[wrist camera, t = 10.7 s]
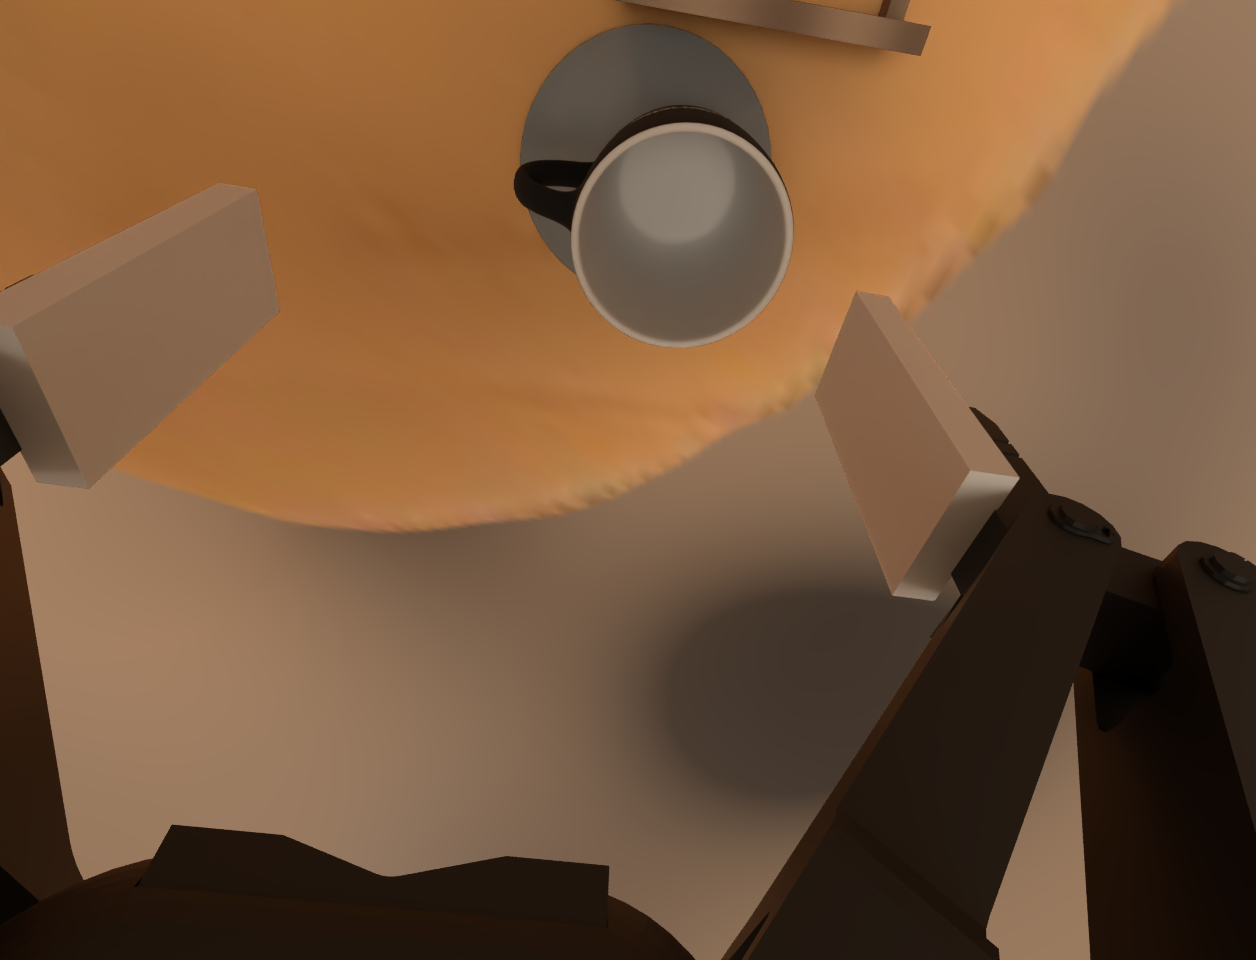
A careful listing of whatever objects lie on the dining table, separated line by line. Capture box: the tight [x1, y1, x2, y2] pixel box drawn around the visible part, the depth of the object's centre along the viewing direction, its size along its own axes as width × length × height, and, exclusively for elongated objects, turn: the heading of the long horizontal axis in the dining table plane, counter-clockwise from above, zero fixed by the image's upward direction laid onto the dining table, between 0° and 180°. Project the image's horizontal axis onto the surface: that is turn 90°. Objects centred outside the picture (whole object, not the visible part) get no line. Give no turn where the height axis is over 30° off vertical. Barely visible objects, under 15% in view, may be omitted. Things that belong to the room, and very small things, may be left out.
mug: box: [514, 105, 794, 348], centre depth 30 cm, size 12×9×10 cm
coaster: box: [520, 24, 771, 274], centre depth 34 cm, size 13×13×1 cm
